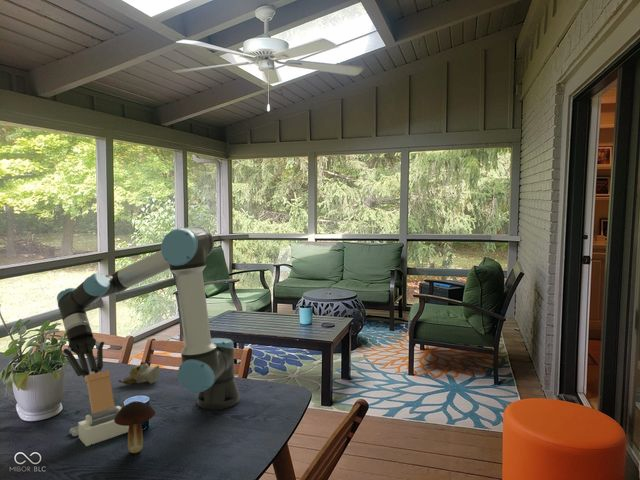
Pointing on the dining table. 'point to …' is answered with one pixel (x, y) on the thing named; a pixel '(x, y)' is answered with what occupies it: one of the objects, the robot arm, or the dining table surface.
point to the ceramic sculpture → (142, 374)
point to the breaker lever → (100, 394)
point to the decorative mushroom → (134, 422)
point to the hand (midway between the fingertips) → (96, 391)
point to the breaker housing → (98, 429)
